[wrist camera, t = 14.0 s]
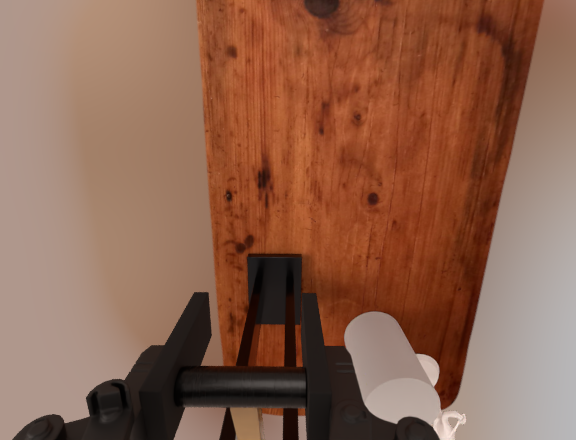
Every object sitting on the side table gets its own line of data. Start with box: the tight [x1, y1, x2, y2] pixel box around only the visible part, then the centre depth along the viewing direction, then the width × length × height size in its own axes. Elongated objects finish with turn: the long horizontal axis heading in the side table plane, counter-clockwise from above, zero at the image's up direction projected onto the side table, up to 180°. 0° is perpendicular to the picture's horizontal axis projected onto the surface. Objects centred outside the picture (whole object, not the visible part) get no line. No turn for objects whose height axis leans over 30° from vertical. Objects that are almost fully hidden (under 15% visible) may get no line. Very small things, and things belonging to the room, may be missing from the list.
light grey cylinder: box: [344, 312, 440, 425], centre depth 39 cm, size 8×8×12 cm
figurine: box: [416, 354, 466, 440], centre depth 41 cm, size 7×7×12 cm
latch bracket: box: [219, 254, 302, 440], centre depth 30 cm, size 10×7×26 cm
